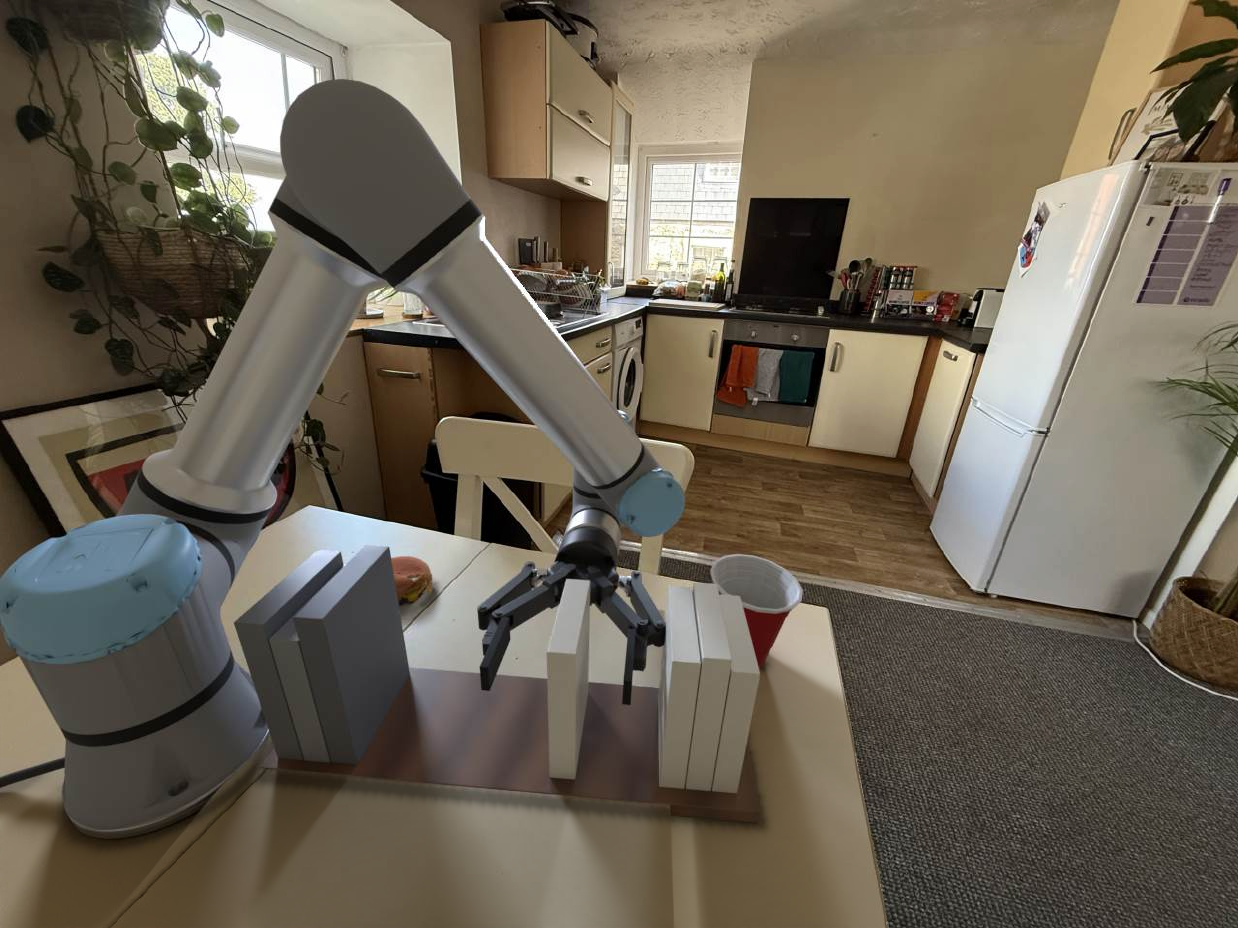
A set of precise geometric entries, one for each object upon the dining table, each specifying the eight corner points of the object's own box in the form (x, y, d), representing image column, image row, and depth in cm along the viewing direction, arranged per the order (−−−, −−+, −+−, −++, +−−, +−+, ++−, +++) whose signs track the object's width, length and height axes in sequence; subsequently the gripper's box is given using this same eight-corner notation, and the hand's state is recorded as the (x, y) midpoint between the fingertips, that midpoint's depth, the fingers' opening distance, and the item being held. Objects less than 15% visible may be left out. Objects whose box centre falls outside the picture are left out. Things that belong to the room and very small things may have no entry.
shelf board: (261, 778, 46) (257, 767, 46) (342, 671, 58) (340, 661, 58) (758, 823, 44) (760, 812, 44) (735, 703, 56) (737, 693, 56)
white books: (659, 786, 45) (672, 655, 39) (658, 697, 55) (669, 580, 49) (737, 793, 45) (762, 662, 39) (722, 702, 54) (741, 585, 48)
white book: (549, 777, 46) (546, 651, 40) (566, 690, 55) (566, 578, 49) (575, 779, 46) (576, 654, 40) (588, 692, 55) (590, 580, 49)
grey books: (277, 758, 47) (229, 612, 40) (344, 668, 57) (315, 541, 50) (357, 765, 46) (322, 619, 40) (410, 674, 56) (389, 546, 50)
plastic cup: (791, 697, 57) (811, 614, 53) (697, 680, 59) (708, 598, 54) (782, 633, 67) (798, 558, 62) (701, 620, 69) (711, 546, 64)
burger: (385, 572, 76) (381, 546, 75) (444, 577, 76) (441, 551, 74) (347, 614, 67) (341, 586, 65) (413, 621, 67) (409, 592, 65)
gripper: (681, 584, 64) (690, 731, 44) (497, 568, 65) (425, 703, 45) (687, 533, 61) (699, 666, 41) (494, 518, 62) (415, 639, 42)
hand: (555, 686), depth 43 cm, fingers open, 12 cm apart
